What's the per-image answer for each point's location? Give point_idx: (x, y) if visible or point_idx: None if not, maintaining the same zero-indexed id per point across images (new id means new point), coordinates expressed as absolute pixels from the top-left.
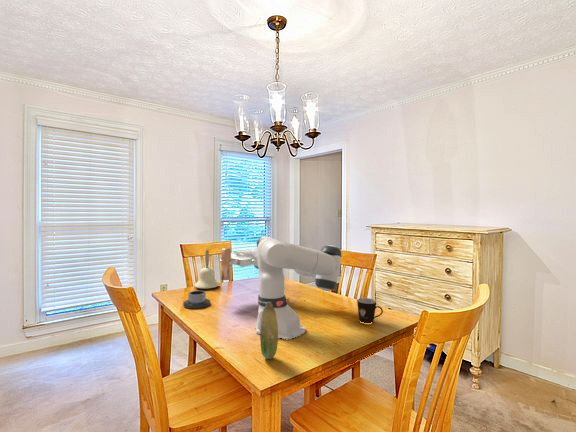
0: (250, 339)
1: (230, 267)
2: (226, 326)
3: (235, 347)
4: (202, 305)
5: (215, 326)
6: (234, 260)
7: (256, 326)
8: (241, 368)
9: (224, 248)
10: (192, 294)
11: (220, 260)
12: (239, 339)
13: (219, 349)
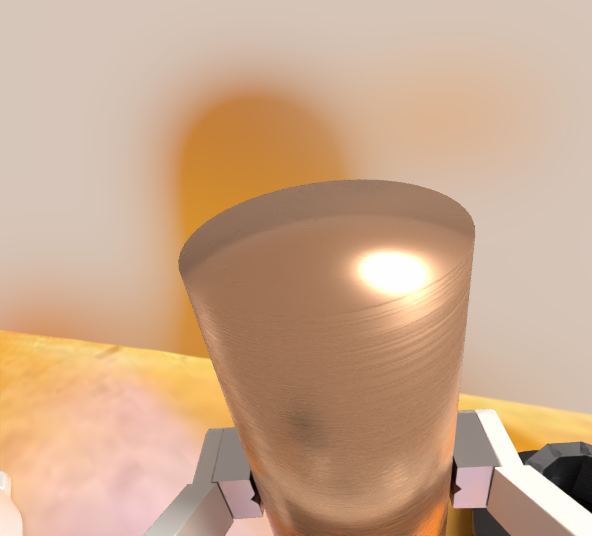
0: (27, 430)
1: None
2: (161, 446)
3: (64, 374)
4: (473, 522)
5: (203, 419)
6: (168, 528)
7: (5, 499)
8: (24, 337)
9: (396, 218)
10: (558, 454)
11: (472, 413)
12: (67, 409)
13: (104, 348)
